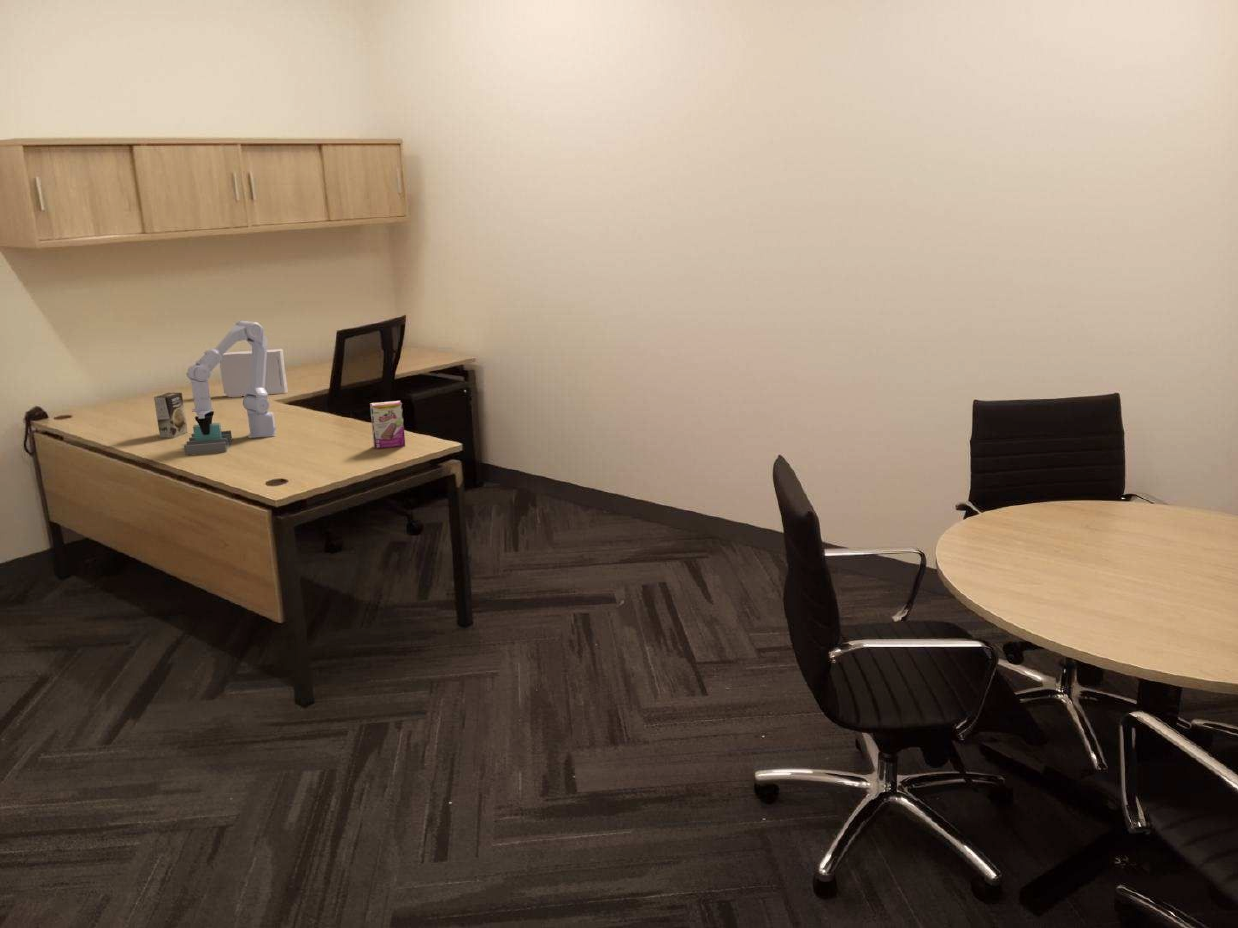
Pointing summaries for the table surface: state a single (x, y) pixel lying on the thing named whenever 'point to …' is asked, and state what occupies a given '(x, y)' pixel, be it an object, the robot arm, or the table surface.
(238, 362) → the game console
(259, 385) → the robot arm
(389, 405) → the candy bar box
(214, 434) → the tall teal block
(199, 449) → the rack
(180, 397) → the coffee box
